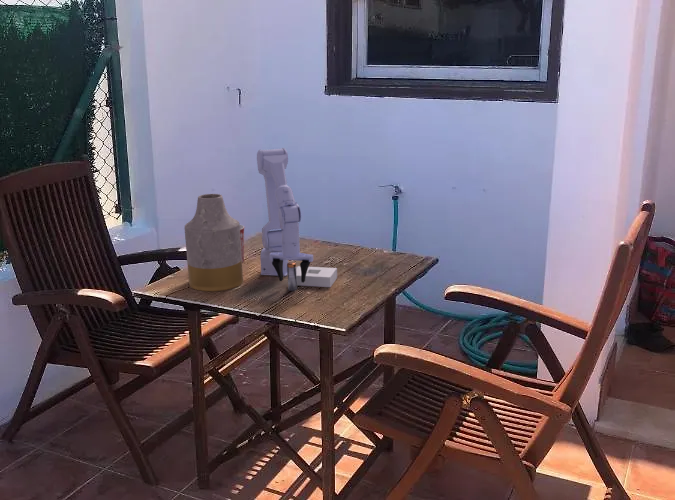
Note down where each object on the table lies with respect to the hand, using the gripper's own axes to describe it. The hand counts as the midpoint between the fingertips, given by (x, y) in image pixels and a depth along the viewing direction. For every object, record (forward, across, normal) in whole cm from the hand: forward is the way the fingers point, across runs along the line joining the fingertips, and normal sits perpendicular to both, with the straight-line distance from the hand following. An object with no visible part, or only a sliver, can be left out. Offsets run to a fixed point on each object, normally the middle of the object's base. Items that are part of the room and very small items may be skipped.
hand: (292, 280), depth 242 cm
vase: (+3, -28, +2) cm, 28 cm away
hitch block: (+3, +5, +9) cm, 11 cm away
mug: (+3, -32, +26) cm, 41 cm away
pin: (+3, 0, 0) cm, 3 cm away
